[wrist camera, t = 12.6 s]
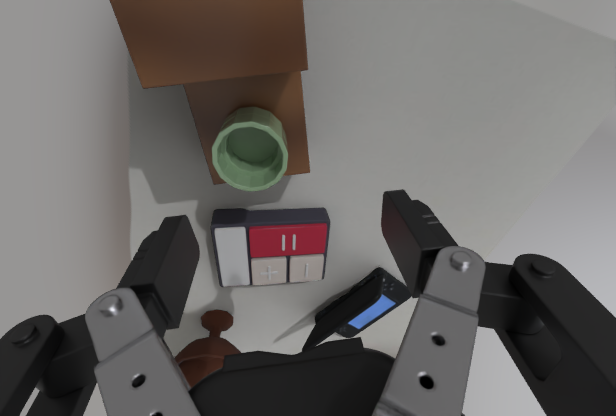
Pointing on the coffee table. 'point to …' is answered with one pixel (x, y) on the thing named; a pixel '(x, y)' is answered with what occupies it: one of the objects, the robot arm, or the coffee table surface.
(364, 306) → the game console
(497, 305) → the robot arm
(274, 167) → the bowl
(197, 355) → the ice cream bowl
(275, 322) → the coffee table surface
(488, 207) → the coffee table surface
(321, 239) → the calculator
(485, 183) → the coffee table surface
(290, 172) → the shelf
